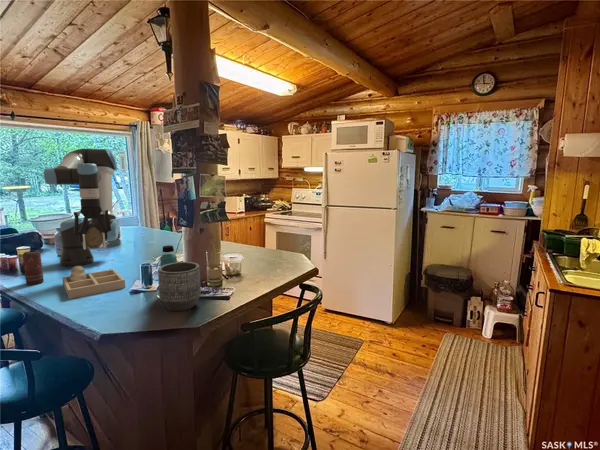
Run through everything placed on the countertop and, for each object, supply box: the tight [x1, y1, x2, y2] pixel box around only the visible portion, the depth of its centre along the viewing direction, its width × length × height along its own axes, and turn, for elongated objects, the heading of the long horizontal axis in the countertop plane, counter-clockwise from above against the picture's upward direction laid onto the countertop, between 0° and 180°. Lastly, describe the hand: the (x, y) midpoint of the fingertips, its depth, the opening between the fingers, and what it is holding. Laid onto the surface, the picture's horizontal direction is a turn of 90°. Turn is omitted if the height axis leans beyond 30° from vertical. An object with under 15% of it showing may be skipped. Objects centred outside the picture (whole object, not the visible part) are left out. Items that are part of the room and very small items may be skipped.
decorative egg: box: [85, 227, 103, 250], centre depth 159 cm, size 7×7×10 cm
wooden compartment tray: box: [62, 268, 126, 300], centre depth 148 cm, size 20×20×4 cm
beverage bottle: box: [159, 244, 178, 267], centre depth 137 cm, size 6×7×20 cm
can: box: [22, 250, 44, 286], centre depth 151 cm, size 6×6×14 cm
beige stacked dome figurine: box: [69, 265, 87, 282], centre depth 148 cm, size 6×6×8 cm
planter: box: [157, 261, 202, 312], centre depth 126 cm, size 14×14×15 cm
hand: (94, 247), depth 160 cm, fingers closed on decorative egg, 7 cm apart
